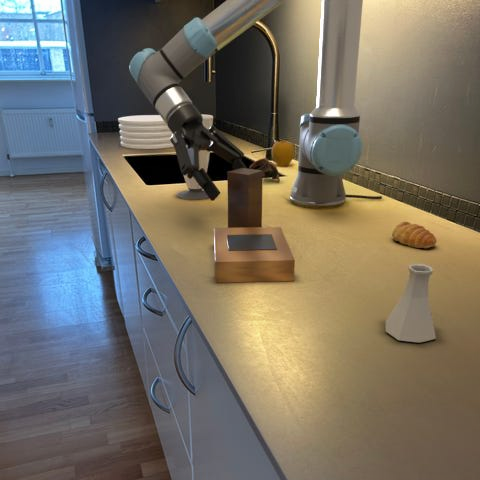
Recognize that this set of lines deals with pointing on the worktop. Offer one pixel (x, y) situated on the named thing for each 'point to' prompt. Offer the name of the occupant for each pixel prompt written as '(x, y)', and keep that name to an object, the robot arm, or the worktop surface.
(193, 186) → the cup
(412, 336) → the flask
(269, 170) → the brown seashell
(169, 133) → the plate stack
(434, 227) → the worktop surface
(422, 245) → the pastry
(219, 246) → the wooden slab
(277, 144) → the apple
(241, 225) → the box
